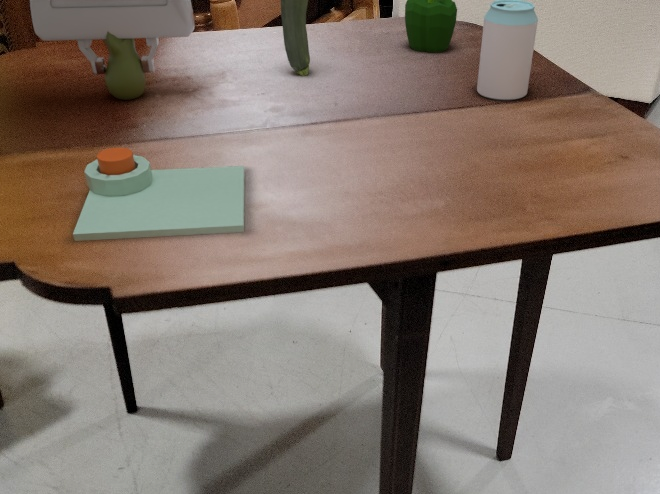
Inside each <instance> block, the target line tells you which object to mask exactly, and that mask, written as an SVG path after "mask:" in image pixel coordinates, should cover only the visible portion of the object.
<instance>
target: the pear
mask: <svg viewBox="0 0 660 494" xmlns="http://www.w3.org/2000/svg"><path fill="white" fill-rule="evenodd" d="M106 38H107V39H102V41H103V44H104V46H105V47H106V49H107V51H108V59H107V63H106V72H105V74H104V84H105V86H106V89H107V90H108V92H109V93H110V95H111V96H113V97H114V98H116V99H118V100H122V101H129V100H130V101H131V100H135V99H137V98H139V97H141V96H142V95H143V93H144V92H145V89H146V85H147V83H146V82H147V81H146V73H143V71H142V67H143V66H142V65H141V57H140V54H139V53H138V52H137V49H136V42H135V38H132V39H119V38H117V37H116V36H114V35H113V34H111V33H109V31H107V36H106Z"/></svg>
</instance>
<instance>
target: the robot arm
mask: <svg viewBox="0 0 660 494" xmlns="http://www.w3.org/2000/svg"><path fill="white" fill-rule="evenodd" d="M29 7H30V15H31V22H32V26H33V31H34V34H35V35H36V36H37V37H38V38H39V39H40V40H42V41H43V42H53V41H55V42H57V41H59V42H60V41H76V42H77V47H78V50H79V51H80V52H81V53H82V55H83V56H85V58H86V59H87V60H88V62H90V65H91V70H92V73H93V75H105V72H106V68H107V65H106V64H105V63H106V62H105V57H101V56H100V57H98V56H97V54H96V53H95V51H94V50H93V49H92V48H91V46H92V44H93V40H95V41H96V40H103V39H107V38H106V36H107V31H109V33H111V34H113V35H114V36H116V37H117V38H119V39H132V38H134V39H145V43H146V46H147V47H150V50H149V52H148V54H147V55H142V56H141V57H140V59H141V65H142V66H143V67H142V71H143V73H144V74H148V73H155V71H156V66H155V59H154V57H155V54H156V51H157V49H158V46H159V43H160V38H161V39H162V38H163V39H165V38H188V37H190V36H191V35H192V33H193V32H194V30H195V27H196V26H195V25H196V24H195V23H196V22H195V21H196V20H195V15H194V9H193V5H192V0H29Z"/></svg>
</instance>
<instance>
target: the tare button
mask: <svg viewBox="0 0 660 494" xmlns="http://www.w3.org/2000/svg"><path fill="white" fill-rule="evenodd" d="M133 155H134V153H133V151H132V150H131V149H130V148H127V147H110V148H106V149H103V150H101V151H99V152H98V153H97V155H96V160H98V164H99V169H100V173H101V174H105V175H121V174H125V173H129V172H131V171H133V170H135V169H136V167H135V162H134V157H133Z"/></svg>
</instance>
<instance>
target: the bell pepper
mask: <svg viewBox="0 0 660 494" xmlns="http://www.w3.org/2000/svg"><path fill="white" fill-rule="evenodd" d="M457 15H458V7H457V5H456V2H455V1H453V0H406V2H405V5H404V25H405V29H406V30H405V31H406V37H407V41H408V45H409V47H410V49H412V50H413V51H416V52H421V53H422V52H426V53H434V54H436V53H443V52H445V51H447V49H448V48H449V47H450V44H451V41H452V37H453V36H454V35H453V34H454V30H455V27H456V24H457V18H458V17H457Z"/></svg>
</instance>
